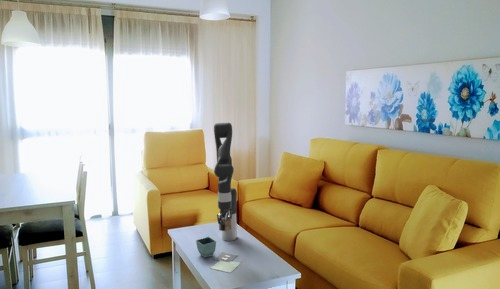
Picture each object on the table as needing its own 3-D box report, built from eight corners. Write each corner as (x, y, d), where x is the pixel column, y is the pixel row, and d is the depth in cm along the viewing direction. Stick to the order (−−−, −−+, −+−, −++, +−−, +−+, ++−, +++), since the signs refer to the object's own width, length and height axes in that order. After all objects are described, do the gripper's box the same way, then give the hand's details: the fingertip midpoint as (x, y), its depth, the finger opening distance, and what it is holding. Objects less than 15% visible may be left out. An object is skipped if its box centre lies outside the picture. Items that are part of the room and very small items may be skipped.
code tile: (222, 252, 222) (222, 252, 222) (237, 255, 218) (237, 255, 218) (213, 259, 213) (213, 259, 213) (229, 263, 209) (229, 262, 209)
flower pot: (203, 260, 213) (203, 245, 212) (196, 254, 220) (195, 240, 219) (216, 256, 218) (216, 241, 217) (209, 251, 225) (208, 236, 224)
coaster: (221, 259, 213) (221, 259, 213) (240, 263, 208) (240, 263, 208) (210, 268, 203) (210, 268, 203) (230, 273, 197) (230, 272, 197)
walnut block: (223, 227, 217) (223, 217, 216) (231, 228, 214) (231, 218, 214) (219, 230, 212) (219, 220, 211) (227, 231, 210) (226, 221, 209)
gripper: (225, 195, 219) (225, 223, 221) (212, 202, 206) (213, 232, 208) (236, 197, 215) (237, 225, 218) (224, 203, 203) (224, 234, 205)
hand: (225, 228), depth 213 cm, fingers closed on walnut block, 5 cm apart
